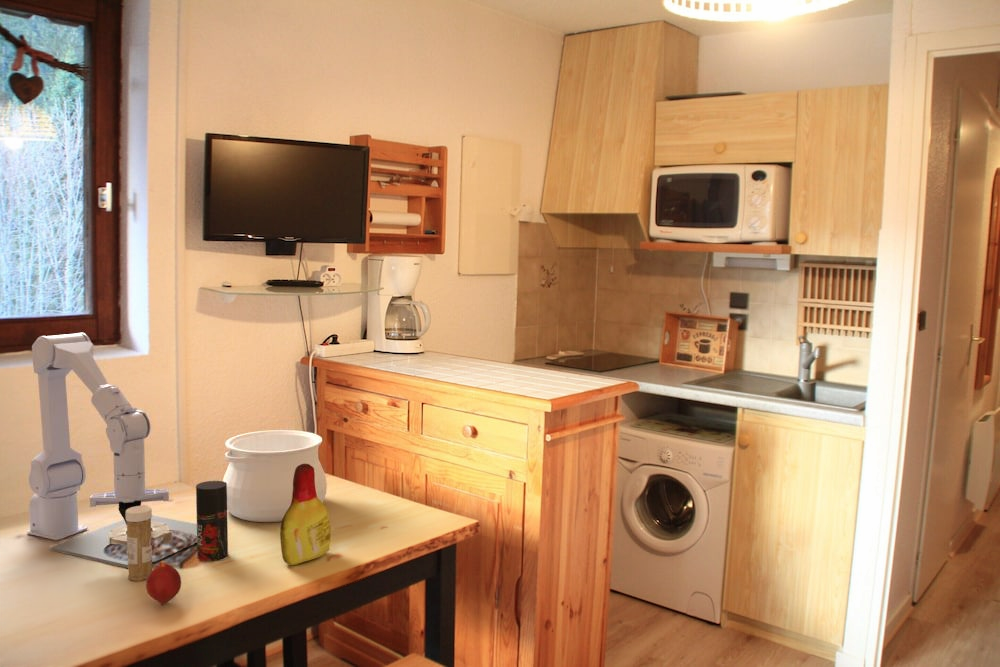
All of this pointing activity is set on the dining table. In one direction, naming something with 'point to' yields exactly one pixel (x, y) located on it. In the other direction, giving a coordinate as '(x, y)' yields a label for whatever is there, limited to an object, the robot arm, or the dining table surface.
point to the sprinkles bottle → (139, 542)
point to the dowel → (167, 536)
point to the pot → (269, 472)
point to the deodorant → (212, 521)
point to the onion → (163, 583)
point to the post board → (99, 539)
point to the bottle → (304, 521)
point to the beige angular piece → (120, 533)
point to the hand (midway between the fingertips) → (131, 537)
